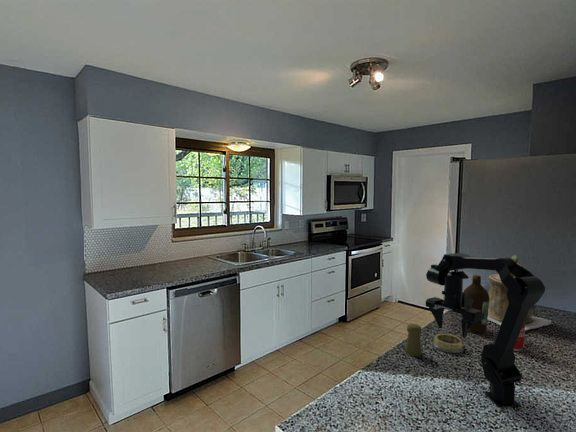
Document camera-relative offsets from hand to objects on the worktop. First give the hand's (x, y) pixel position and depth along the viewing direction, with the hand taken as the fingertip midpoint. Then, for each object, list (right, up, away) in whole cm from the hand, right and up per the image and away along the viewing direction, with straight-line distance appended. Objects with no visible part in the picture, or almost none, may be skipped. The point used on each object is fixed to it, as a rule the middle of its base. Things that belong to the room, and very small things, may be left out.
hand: (452, 332), depth 116 cm
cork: (-9, -12, +12) cm, 19 cm away
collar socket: (+7, -12, +17) cm, 21 cm away
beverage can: (+33, -12, +16) cm, 38 cm away
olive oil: (+27, -11, +33) cm, 44 cm away
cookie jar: (+51, -10, +45) cm, 69 cm away
